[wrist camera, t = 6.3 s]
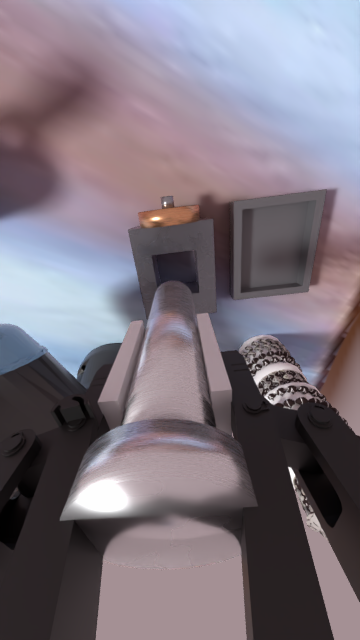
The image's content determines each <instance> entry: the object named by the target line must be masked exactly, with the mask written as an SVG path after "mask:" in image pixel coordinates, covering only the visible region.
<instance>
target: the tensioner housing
mask: <svg viewBox="0 0 360 640" xmlns="http://www.w3.org/2000/svg"><path fill="white" fill-rule="evenodd" d="M161 204H162V209H159V210H152V211H145V212H139V213H138V216H139V221H140V226H139V227H134V228H131V229H129V230H128V233H129V237H130V242H131V247H132V251H133V256H134V261H135V266H136V270H137V275H138V280H139V284H140V289H141V294H142V298H143V303H144V308H145V312H146V317H147V320H148V319H149V315H150V311H151V307H152V304H153V300H154V296H155V293H156V290H157V289H158V287H159V286H160V285H161V282H160V276H159V269H158V263H157V257H156V255H159V254H167V253H175V252H183V251H192V250H194V256H195V268H196V280H197V282H190V283H184V284H185V285H186V286H188V288H189V289H190V291H191V293H192V298H193V303H194V309H195V314H202V313H215V312H217V308H216V281H215V255H214V228H213V219H211V218H202V219H200V215H199V205H191V206H183V207H175V208H174V200H173V196H166V197H161Z"/></svg>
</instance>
